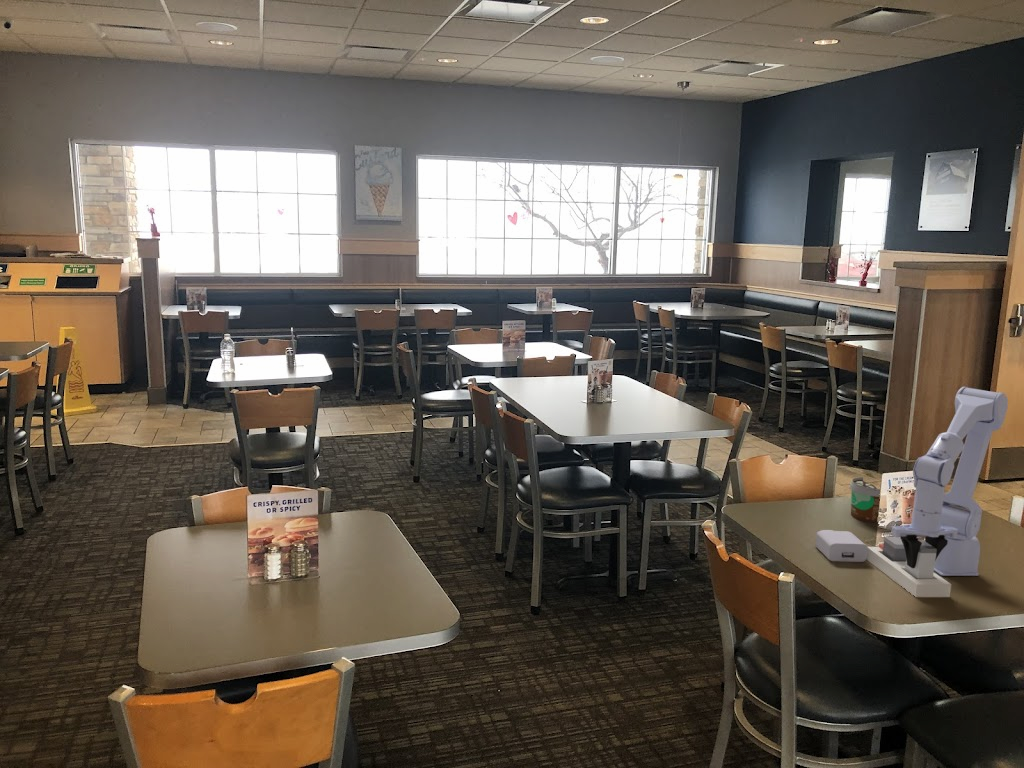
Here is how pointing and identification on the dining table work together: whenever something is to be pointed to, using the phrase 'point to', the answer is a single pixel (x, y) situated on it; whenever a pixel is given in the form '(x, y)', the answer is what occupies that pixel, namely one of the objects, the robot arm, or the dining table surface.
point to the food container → (864, 500)
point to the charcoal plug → (894, 549)
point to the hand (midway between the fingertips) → (919, 566)
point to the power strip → (908, 576)
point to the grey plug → (924, 561)
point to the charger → (841, 546)
